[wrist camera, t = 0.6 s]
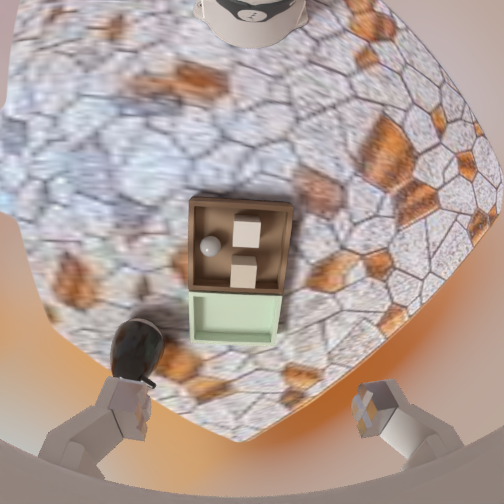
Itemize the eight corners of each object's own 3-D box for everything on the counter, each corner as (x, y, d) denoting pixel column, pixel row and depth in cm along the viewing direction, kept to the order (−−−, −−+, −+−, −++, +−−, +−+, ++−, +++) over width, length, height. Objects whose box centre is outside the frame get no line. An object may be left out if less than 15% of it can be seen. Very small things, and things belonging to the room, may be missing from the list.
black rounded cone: (165, 355, 58) (152, 409, 44) (120, 342, 56) (97, 392, 42) (172, 318, 55) (156, 372, 40) (122, 304, 53) (94, 353, 39)
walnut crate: (192, 196, 47) (188, 200, 43) (289, 202, 48) (293, 207, 45) (191, 280, 52) (188, 289, 49) (279, 284, 53) (282, 293, 50)
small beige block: (234, 214, 47) (234, 221, 44) (258, 216, 48) (260, 222, 44) (232, 238, 49) (232, 246, 45) (256, 239, 49) (258, 247, 45)
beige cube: (231, 255, 50) (231, 264, 46) (255, 256, 50) (257, 265, 46) (230, 276, 51) (230, 287, 47) (253, 277, 52) (254, 288, 48)
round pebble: (201, 232, 48) (199, 239, 45) (221, 233, 48) (221, 240, 45) (200, 251, 49) (198, 259, 46) (220, 253, 50) (220, 260, 46)
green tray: (191, 282, 52) (188, 291, 49) (279, 286, 53) (282, 296, 50) (192, 331, 56) (190, 342, 53) (272, 335, 57) (274, 345, 54)
